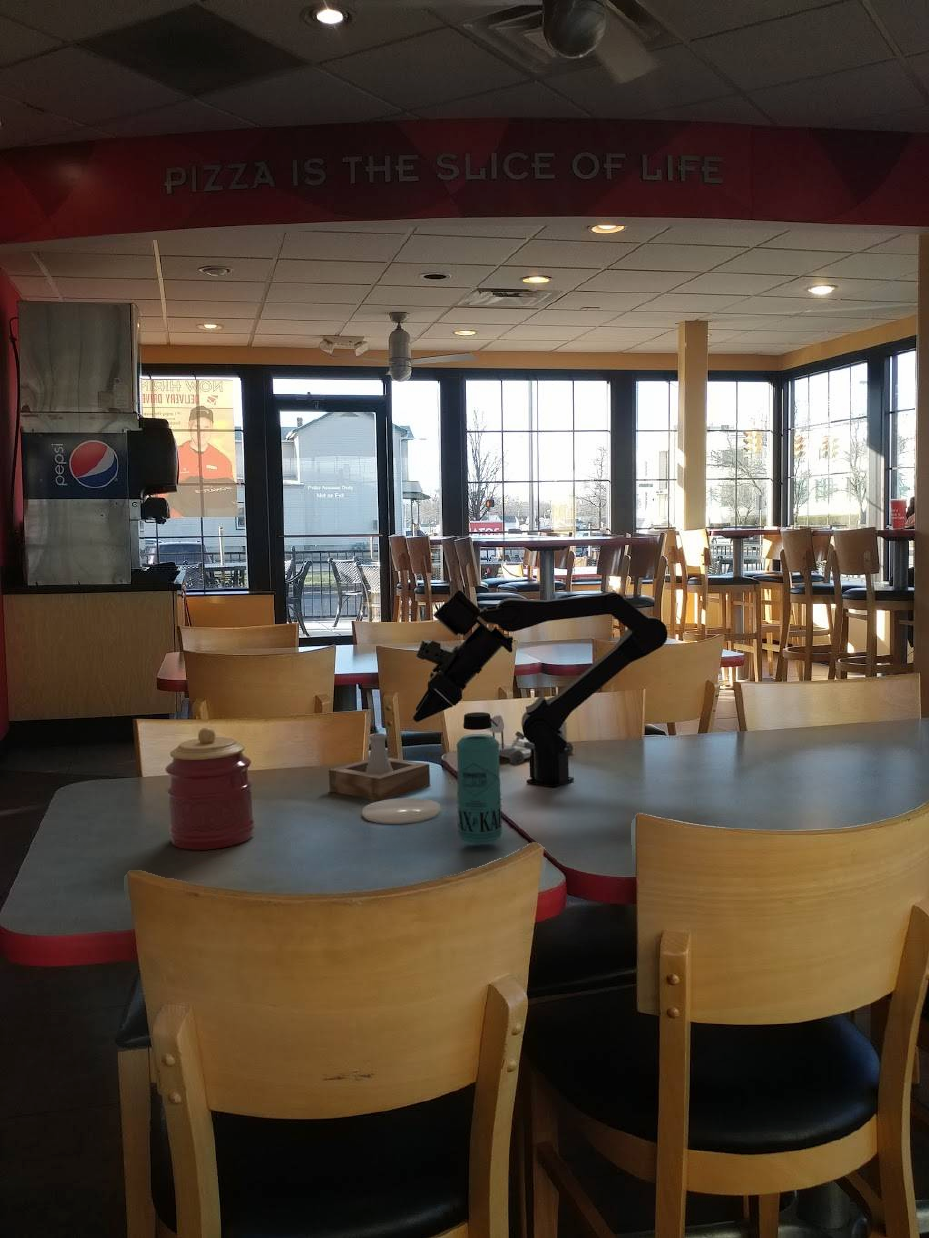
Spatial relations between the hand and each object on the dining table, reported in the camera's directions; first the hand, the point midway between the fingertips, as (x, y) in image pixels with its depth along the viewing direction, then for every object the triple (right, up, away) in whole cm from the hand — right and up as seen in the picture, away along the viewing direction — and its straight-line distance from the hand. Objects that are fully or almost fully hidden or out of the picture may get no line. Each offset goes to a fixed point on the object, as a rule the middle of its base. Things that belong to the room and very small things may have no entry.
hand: (416, 715), depth 189 cm
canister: (-31, -17, -27) cm, 44 cm away
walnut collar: (-7, -13, +1) cm, 15 cm away
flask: (-7, -14, +1) cm, 15 cm away
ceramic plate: (-2, -15, -16) cm, 22 cm away
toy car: (+21, -11, +25) cm, 34 cm away
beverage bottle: (+11, -16, -36) cm, 41 cm away
